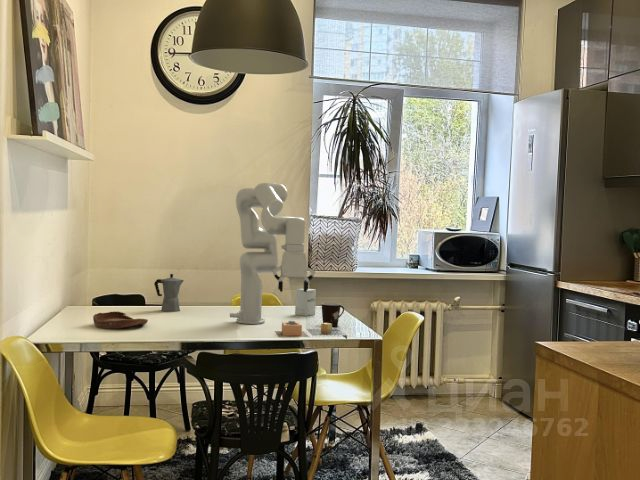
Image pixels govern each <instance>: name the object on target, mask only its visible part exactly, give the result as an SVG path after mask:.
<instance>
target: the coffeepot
mask: <svg viewBox="0 0 640 480" xmlns="http://www.w3.org/2000/svg"><path fill="white" fill-rule="evenodd" d="M184 281H185V280H184V279H180V278H175V277H174V274H173V273H170V274H169V277H167V278H164V279H163V278H158V279H156V280H155V281H154V289H155V291H156V295H157V297H162V296H163V300H162V303H161V311H162V312H164V313H166V312H167V313H177V312H180V303H179V294H180V293H179V292H180V288H181V285H182V284H183V282H184ZM159 283H160V284H162V289H163V291H162V292H163V294H161V293H160V287H159Z"/></svg>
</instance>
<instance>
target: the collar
mask: <svg viewBox="0 0 640 480" xmlns="http://www.w3.org/2000/svg"><path fill="white" fill-rule="evenodd" d="M281 331H282V333H283V335H302V331H303V325H302V324H301V323H300V322H298V321H297V322H296V321H295V325H288V322H287V321H285V322H283V321H282V322H281Z"/></svg>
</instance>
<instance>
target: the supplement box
mask: <svg viewBox="0 0 640 480" xmlns="http://www.w3.org/2000/svg"><path fill="white" fill-rule="evenodd" d="M316 295H317V289H313V288H308V290H307V292H304V288H296V289H295V306H294V308H295V309H294V313H295V314H294V315H296V316H297V315H298V316H302V317H303V316H304V317H308V316H314V315H316V299H317V296H316Z"/></svg>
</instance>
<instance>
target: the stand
mask: <svg viewBox="0 0 640 480" xmlns="http://www.w3.org/2000/svg"><path fill="white" fill-rule="evenodd" d="M295 322H296V320H289V321H288V325H295ZM274 333H275V334H276V335H277V337H281V338H285V337H286V338H287V337H288V338H290V337H291V338H292V337H293V338H294V337H295V338H296V337H297V338H298V337H299V338H300V337H303V338H305V337H307V338H309V335H308V334H307V333H306V332H305V331H304V330H302V335H283V333H282V330H274Z"/></svg>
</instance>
